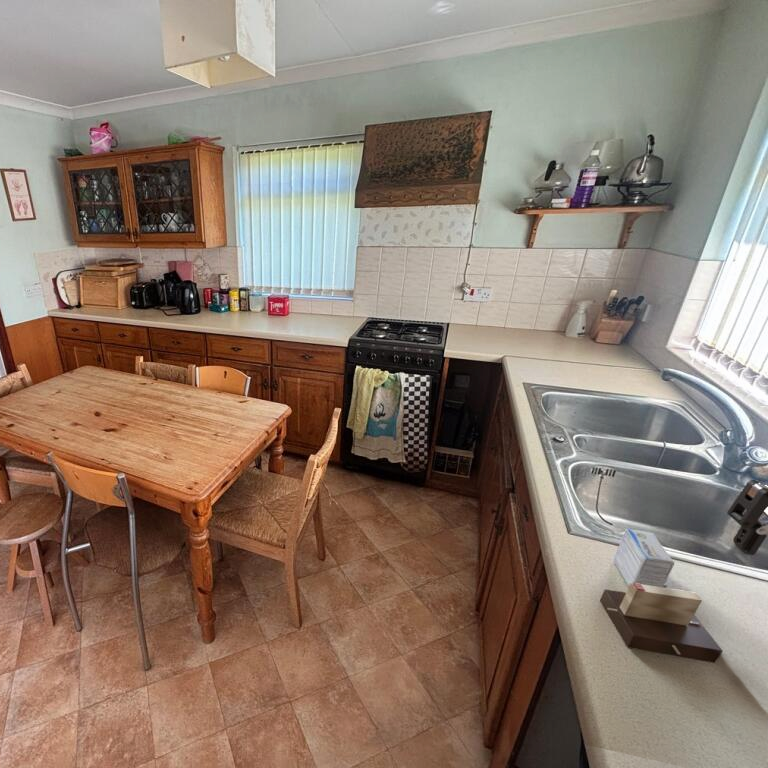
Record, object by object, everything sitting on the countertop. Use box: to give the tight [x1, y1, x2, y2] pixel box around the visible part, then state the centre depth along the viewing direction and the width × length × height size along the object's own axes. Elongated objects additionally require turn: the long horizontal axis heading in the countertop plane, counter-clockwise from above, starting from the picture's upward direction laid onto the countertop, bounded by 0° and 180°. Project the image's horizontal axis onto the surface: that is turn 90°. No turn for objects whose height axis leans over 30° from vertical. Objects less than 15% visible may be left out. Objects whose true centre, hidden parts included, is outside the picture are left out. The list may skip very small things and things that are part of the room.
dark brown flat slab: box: [599, 584, 724, 664], centre depth 71 cm, size 14×13×3 cm
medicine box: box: [612, 528, 675, 588], centre depth 79 cm, size 8×4×9 cm, turn 161°
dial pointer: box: [620, 583, 703, 626], centre depth 69 cm, size 9×2×6 cm, turn 77°
